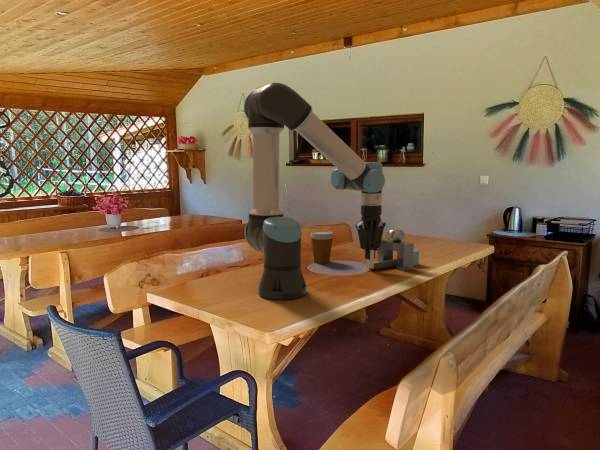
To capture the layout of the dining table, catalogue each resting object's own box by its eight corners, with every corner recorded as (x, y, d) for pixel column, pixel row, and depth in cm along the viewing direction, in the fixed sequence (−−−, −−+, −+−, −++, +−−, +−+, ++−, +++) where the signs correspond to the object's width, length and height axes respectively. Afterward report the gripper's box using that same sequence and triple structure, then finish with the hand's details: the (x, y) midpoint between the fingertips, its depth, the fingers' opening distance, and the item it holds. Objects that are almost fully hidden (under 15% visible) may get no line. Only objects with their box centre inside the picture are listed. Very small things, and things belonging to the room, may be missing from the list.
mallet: (375, 271, 181) (376, 257, 181) (366, 268, 186) (366, 254, 185) (418, 264, 193) (419, 251, 192) (408, 262, 198) (408, 248, 197)
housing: (403, 271, 183) (404, 233, 180) (377, 263, 195) (378, 227, 193) (412, 269, 185) (414, 231, 183) (386, 262, 197) (387, 226, 195)
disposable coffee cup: (331, 264, 193) (332, 234, 191) (308, 263, 195) (308, 234, 193) (335, 259, 202) (335, 230, 200) (312, 258, 204) (312, 230, 202)
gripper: (364, 206, 173) (362, 271, 177) (391, 204, 180) (389, 267, 183) (350, 204, 179) (349, 267, 183) (377, 202, 186) (376, 263, 190)
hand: (369, 267), depth 183 cm, fingers closed
